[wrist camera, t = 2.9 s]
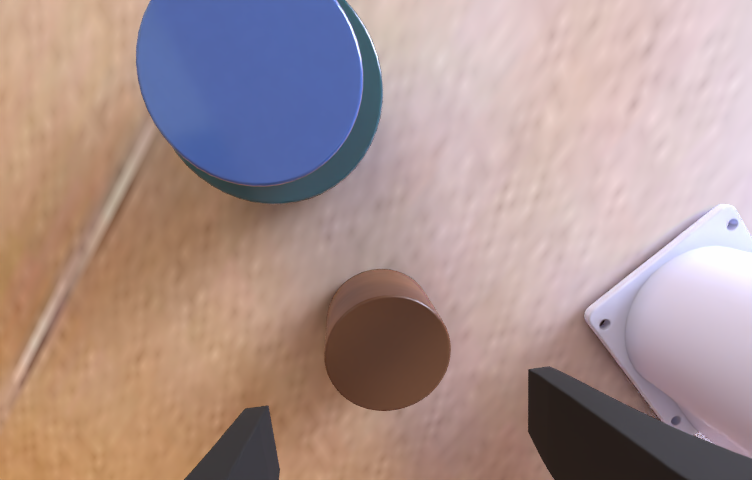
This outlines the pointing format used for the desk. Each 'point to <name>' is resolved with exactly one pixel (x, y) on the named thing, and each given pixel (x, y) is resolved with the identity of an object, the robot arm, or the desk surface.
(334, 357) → the brown short cylinder
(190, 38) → the ink bottle
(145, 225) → the desk surface
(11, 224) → the desk surface
